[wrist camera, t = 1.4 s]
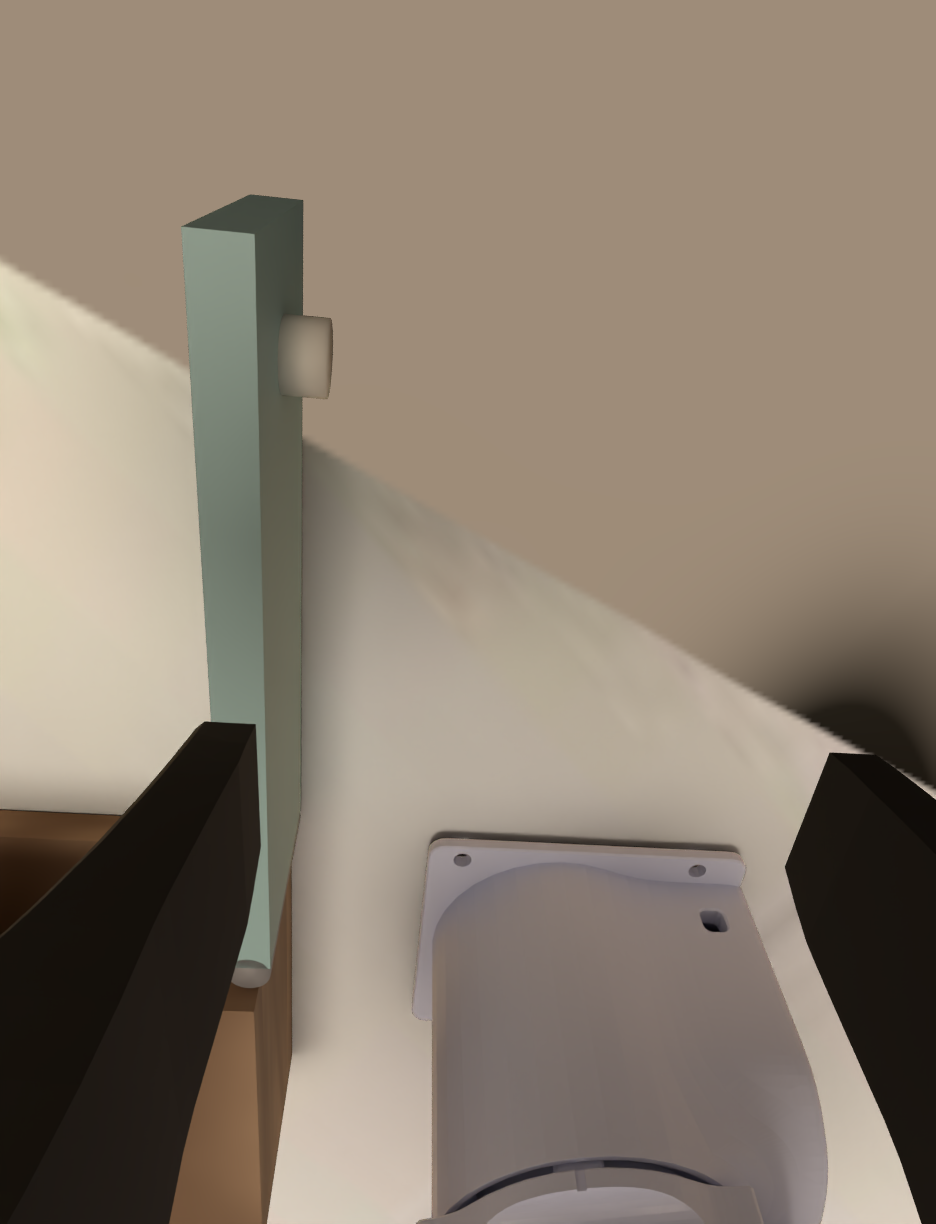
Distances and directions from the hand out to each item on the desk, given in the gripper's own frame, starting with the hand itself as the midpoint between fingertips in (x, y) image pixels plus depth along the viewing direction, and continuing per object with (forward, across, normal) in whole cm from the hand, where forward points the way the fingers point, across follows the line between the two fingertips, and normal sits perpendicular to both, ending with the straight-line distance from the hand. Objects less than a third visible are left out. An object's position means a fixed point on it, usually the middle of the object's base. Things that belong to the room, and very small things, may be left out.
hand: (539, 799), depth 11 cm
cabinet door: (+10, +4, +3) cm, 11 cm away
